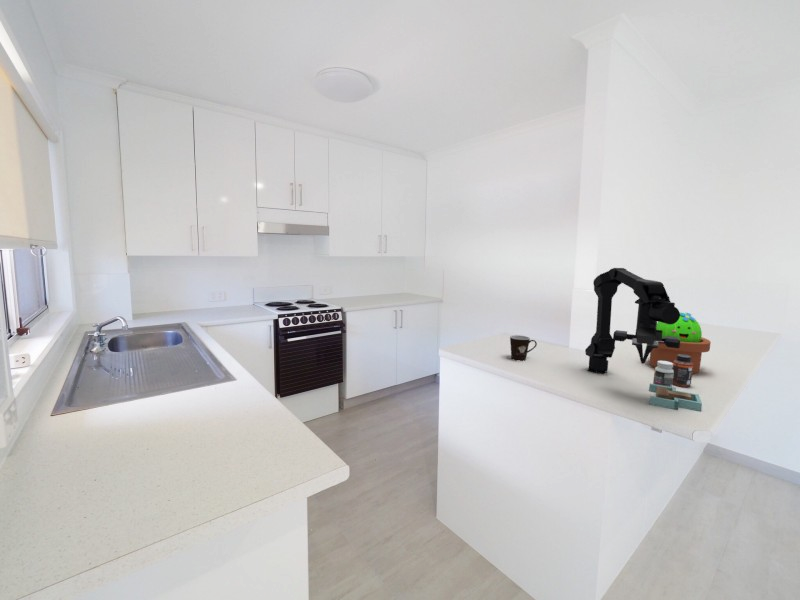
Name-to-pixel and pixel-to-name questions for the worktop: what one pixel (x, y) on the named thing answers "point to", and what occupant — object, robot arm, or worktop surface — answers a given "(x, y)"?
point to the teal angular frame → (675, 400)
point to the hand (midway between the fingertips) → (642, 363)
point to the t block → (671, 394)
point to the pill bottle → (663, 374)
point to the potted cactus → (681, 342)
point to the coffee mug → (520, 347)
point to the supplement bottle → (682, 371)
